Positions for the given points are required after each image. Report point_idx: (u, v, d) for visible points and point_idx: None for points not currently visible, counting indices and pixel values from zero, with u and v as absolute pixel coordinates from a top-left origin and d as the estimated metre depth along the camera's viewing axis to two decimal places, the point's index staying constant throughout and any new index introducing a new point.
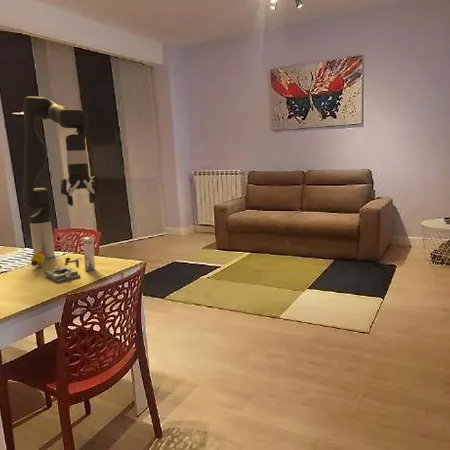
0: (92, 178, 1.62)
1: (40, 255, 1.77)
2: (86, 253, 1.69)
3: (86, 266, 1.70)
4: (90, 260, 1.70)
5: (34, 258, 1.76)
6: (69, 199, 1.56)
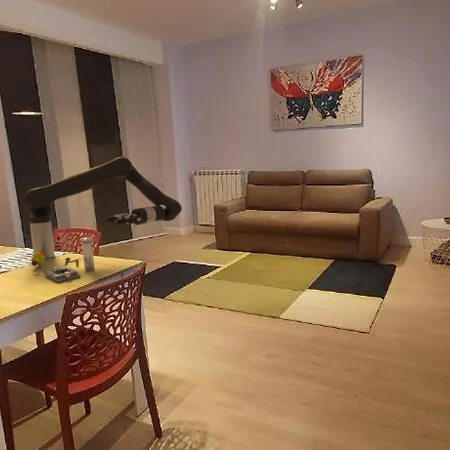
0: None
1: (40, 255, 1.77)
2: (85, 253, 1.69)
3: (86, 266, 1.71)
4: (90, 260, 1.70)
5: (34, 258, 1.76)
6: (123, 222, 1.76)
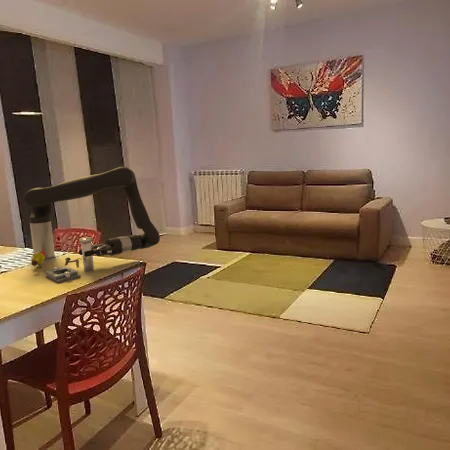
0: None
1: (40, 255, 1.77)
2: None
3: (85, 266, 1.70)
4: (89, 260, 1.70)
5: (34, 258, 1.76)
6: (91, 254, 1.69)
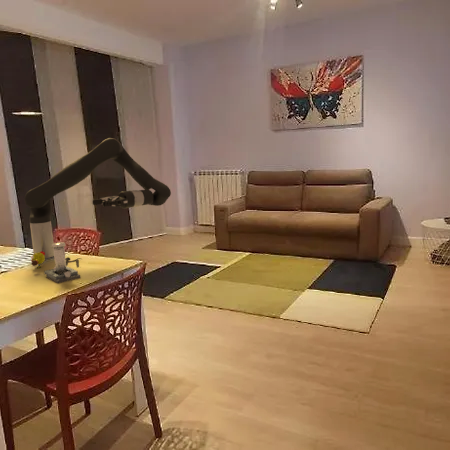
0: None
1: (40, 255, 1.77)
2: (57, 259, 1.61)
3: (57, 273, 1.62)
4: (62, 267, 1.62)
5: (34, 258, 1.76)
6: (109, 205, 1.70)
